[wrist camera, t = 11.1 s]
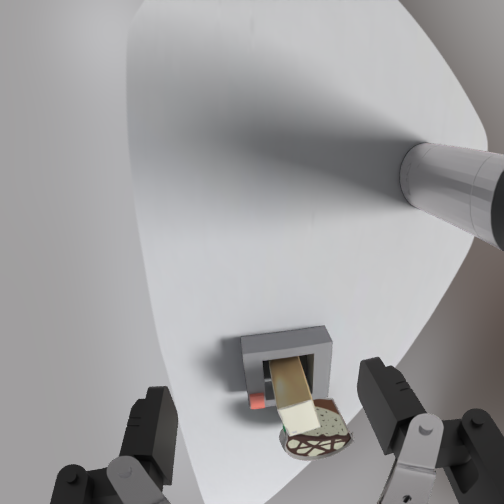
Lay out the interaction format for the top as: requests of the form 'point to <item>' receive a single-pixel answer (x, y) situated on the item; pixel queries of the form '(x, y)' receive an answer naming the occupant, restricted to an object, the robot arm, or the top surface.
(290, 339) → the socket block
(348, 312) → the top surface
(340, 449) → the food container
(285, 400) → the skincare box
